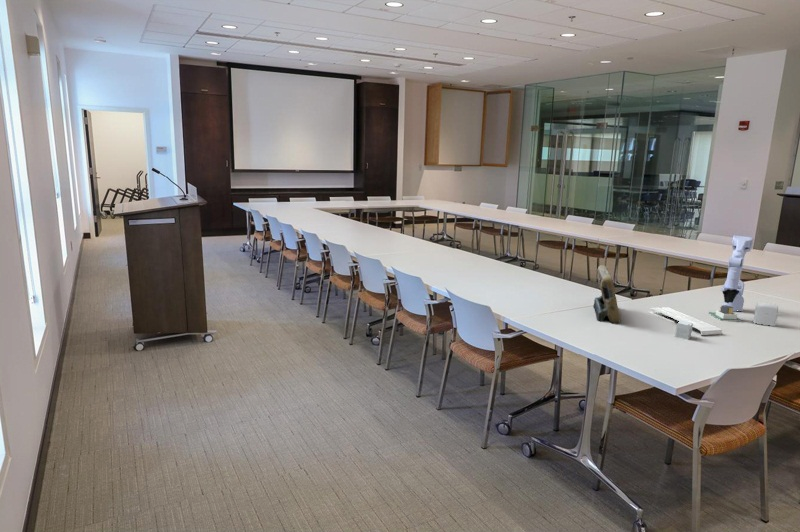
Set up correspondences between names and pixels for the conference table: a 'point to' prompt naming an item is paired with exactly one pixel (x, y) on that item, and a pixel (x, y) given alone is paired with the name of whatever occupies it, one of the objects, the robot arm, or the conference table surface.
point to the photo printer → (766, 313)
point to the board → (724, 315)
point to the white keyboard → (687, 320)
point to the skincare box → (684, 329)
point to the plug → (726, 309)
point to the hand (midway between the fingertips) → (728, 302)
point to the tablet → (606, 297)
